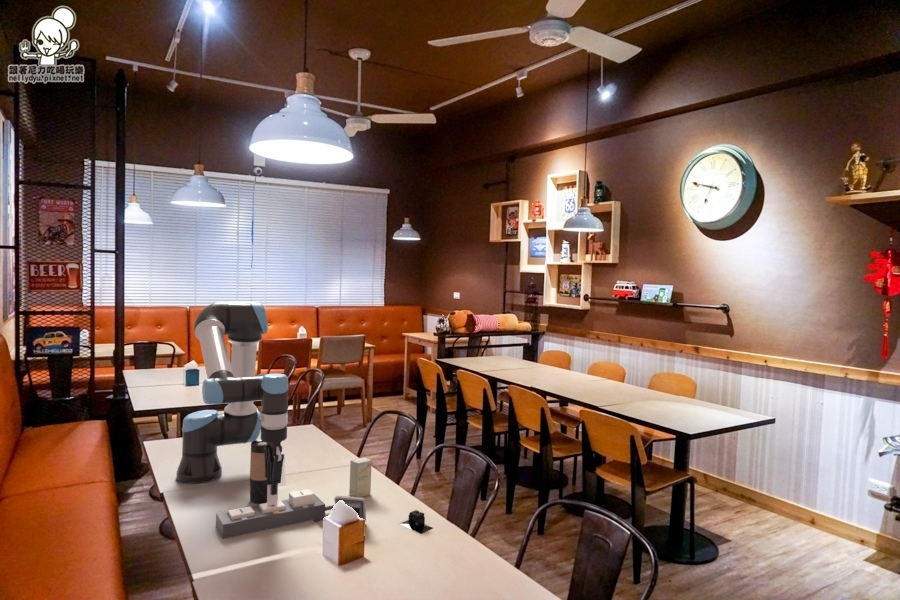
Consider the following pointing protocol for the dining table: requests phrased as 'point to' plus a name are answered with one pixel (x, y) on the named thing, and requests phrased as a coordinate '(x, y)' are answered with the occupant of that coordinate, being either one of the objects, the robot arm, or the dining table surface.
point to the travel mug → (258, 473)
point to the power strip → (270, 518)
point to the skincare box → (360, 477)
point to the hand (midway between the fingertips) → (272, 503)
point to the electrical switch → (354, 504)
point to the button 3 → (301, 498)
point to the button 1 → (240, 513)
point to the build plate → (416, 522)
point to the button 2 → (271, 507)
